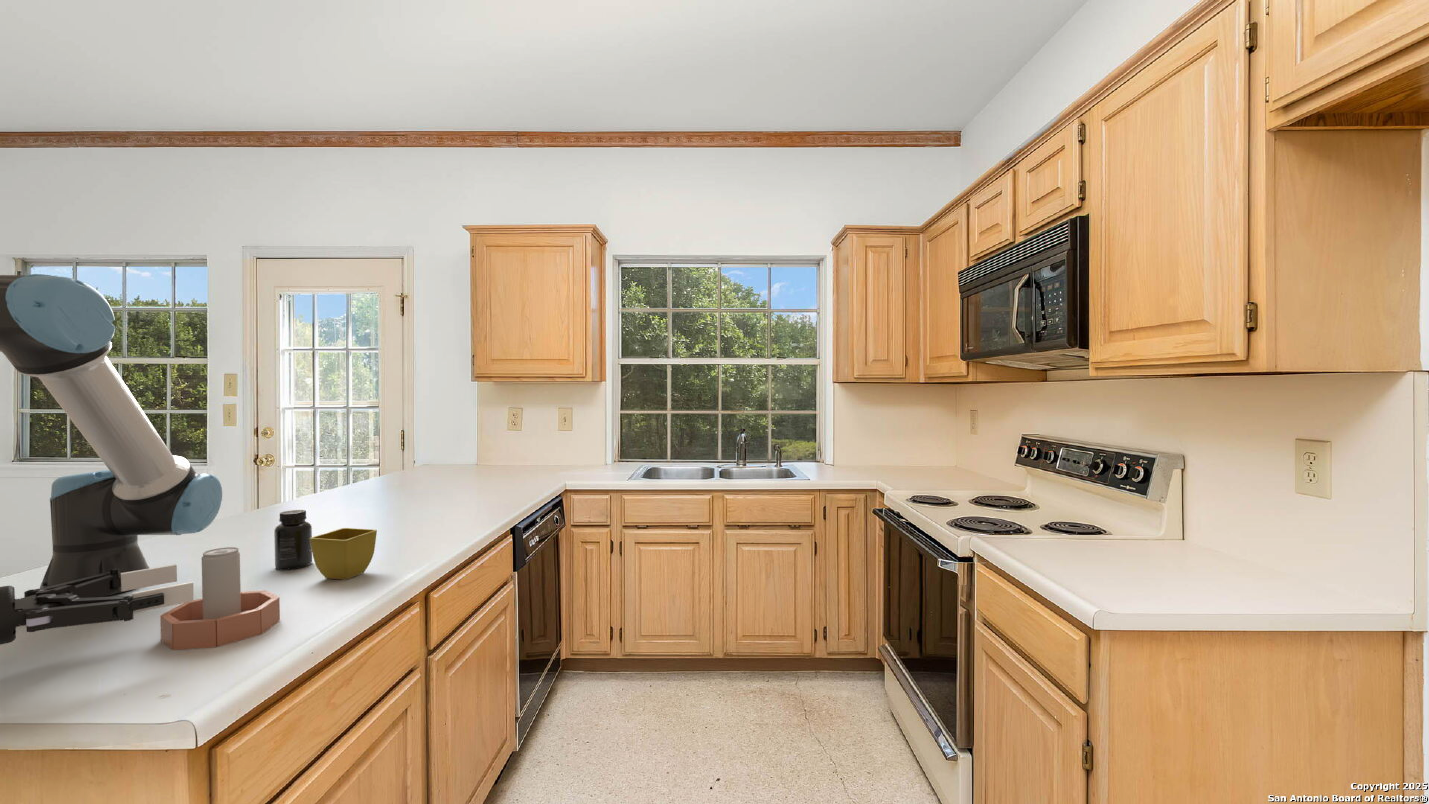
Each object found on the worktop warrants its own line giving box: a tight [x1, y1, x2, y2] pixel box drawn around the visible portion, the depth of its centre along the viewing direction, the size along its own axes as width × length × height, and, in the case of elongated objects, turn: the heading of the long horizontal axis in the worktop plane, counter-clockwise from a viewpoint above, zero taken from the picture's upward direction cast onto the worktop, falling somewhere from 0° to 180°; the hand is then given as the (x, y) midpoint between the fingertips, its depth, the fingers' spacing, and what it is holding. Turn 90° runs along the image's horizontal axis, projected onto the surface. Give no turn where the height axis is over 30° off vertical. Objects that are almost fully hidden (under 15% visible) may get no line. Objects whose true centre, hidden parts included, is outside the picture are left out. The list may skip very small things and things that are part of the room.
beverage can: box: [201, 546, 242, 620], centre depth 99 cm, size 5×5×12 cm
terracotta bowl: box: [159, 590, 281, 651], centre depth 99 cm, size 14×14×4 cm
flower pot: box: [310, 527, 378, 581], centre depth 127 cm, size 9×9×9 cm
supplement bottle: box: [273, 509, 313, 570], centre depth 134 cm, size 7×7×12 cm
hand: (184, 581), depth 95 cm, fingers open, 13 cm apart
